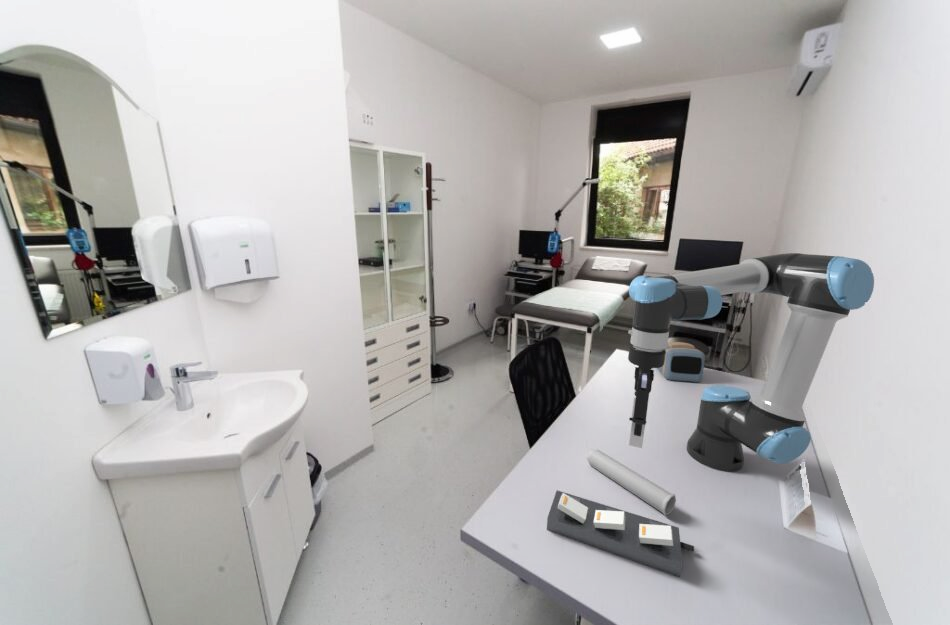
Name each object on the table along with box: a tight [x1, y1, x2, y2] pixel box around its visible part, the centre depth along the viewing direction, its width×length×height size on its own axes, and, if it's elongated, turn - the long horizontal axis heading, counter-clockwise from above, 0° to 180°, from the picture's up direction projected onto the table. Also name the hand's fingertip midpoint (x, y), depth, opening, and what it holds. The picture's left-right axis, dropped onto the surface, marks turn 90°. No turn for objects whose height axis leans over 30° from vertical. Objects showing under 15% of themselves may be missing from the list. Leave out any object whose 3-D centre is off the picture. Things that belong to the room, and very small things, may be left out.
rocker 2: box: [594, 510, 626, 530], centre depth 83 cm, size 6×4×2 cm, turn 65°
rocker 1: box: [558, 492, 588, 523], centre depth 86 cm, size 6×4×2 cm, turn 65°
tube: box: [586, 449, 677, 516], centre depth 101 cm, size 5×5×25 cm
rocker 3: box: [639, 524, 673, 546], centre depth 79 cm, size 6×4×2 cm, turn 65°
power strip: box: [546, 490, 695, 578], centre depth 84 cm, size 31×10×4 cm, turn 65°
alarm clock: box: [657, 341, 706, 383], centre depth 173 cm, size 16×16×16 cm
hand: (636, 433), depth 88 cm, fingers open, 11 cm apart
